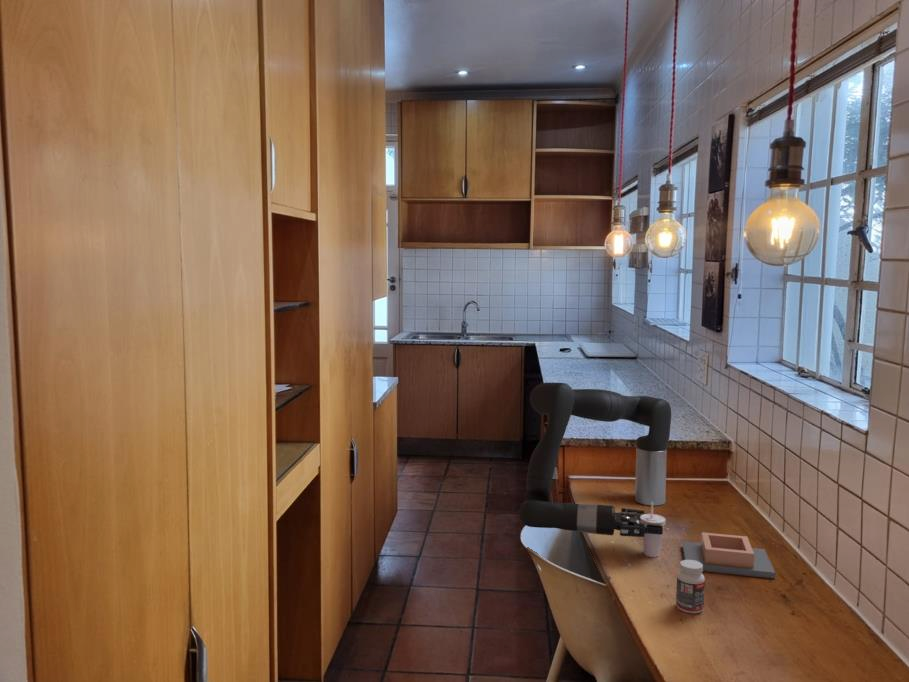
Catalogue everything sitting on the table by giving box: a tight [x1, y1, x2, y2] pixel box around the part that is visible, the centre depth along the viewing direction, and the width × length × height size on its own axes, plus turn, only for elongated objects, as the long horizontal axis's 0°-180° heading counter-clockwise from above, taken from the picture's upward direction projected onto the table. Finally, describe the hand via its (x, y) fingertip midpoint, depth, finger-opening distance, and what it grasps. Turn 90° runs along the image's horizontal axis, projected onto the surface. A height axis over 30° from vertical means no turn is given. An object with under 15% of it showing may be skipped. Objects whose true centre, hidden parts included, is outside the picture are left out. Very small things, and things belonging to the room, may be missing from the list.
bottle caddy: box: [682, 532, 776, 580], centre depth 170 cm, size 14×20×5 cm
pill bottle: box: [675, 559, 706, 614], centre depth 147 cm, size 6×6×10 cm
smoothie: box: [640, 502, 667, 558], centre depth 174 cm, size 6×6×14 cm
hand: (662, 525), depth 173 cm, fingers closed on smoothie, 6 cm apart
